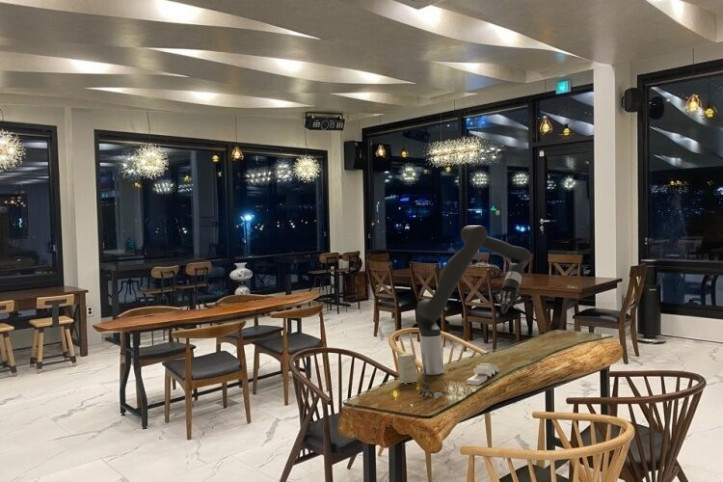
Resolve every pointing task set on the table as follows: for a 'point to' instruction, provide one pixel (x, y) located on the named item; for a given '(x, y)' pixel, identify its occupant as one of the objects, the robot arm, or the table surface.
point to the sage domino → (491, 366)
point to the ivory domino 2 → (476, 379)
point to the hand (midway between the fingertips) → (503, 311)
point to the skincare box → (407, 368)
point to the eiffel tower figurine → (428, 389)
